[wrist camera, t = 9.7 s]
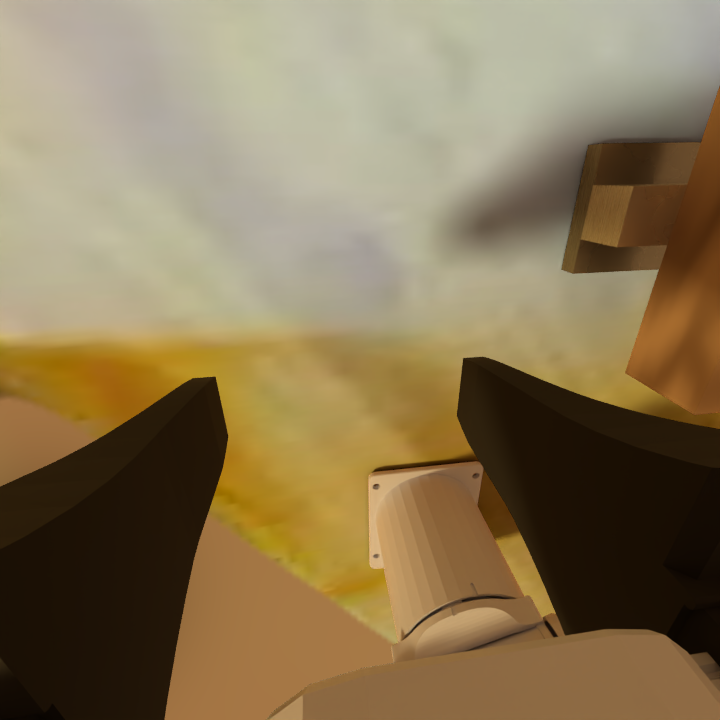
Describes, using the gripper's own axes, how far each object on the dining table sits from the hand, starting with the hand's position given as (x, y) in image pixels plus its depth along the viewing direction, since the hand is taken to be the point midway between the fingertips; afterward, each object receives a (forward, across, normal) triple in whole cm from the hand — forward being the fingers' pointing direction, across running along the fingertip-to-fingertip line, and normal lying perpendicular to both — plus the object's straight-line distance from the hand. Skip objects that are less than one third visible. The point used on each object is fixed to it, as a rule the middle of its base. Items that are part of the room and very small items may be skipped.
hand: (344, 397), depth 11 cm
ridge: (+10, -17, -4) cm, 20 cm away
